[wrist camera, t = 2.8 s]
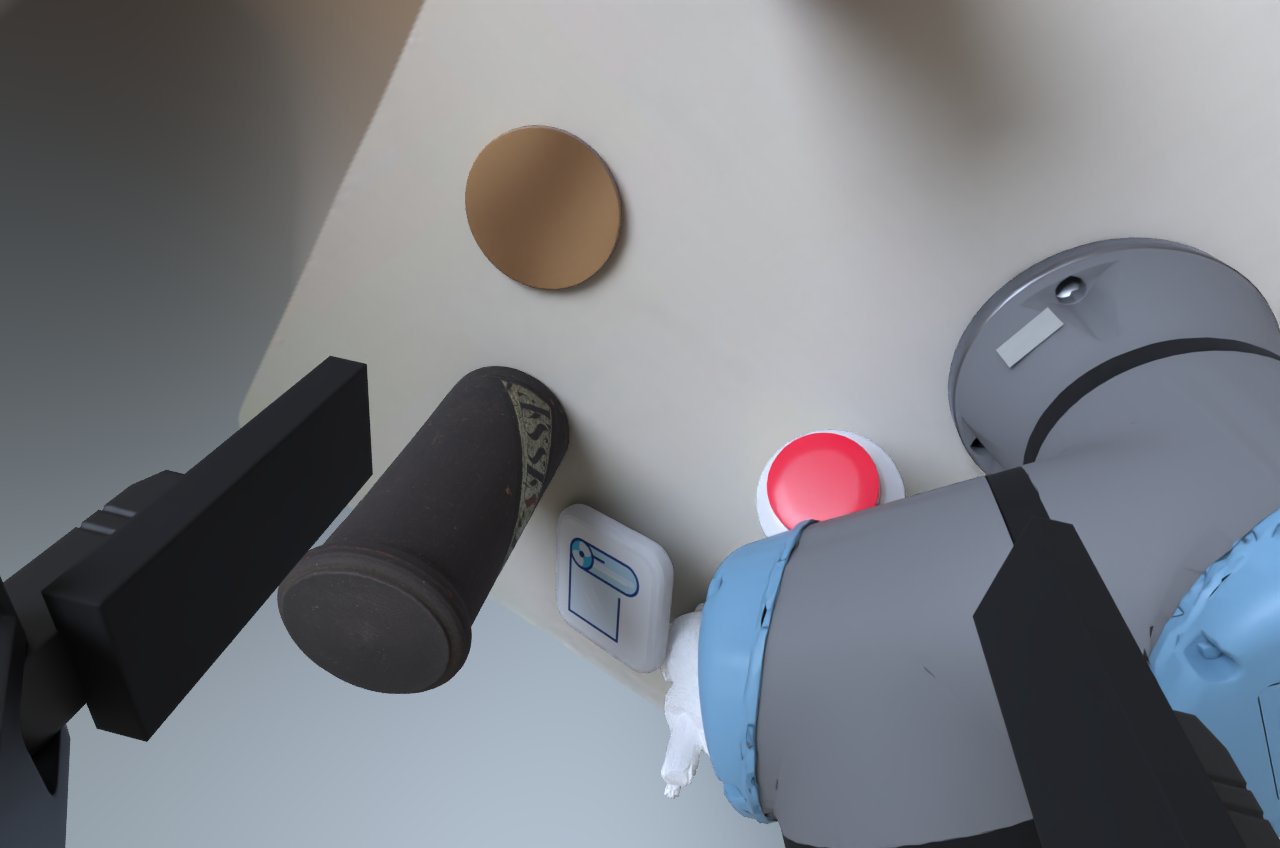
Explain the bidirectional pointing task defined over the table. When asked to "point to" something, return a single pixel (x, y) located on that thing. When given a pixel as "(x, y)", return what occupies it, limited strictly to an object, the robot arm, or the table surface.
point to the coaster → (543, 207)
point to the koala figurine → (683, 703)
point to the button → (614, 586)
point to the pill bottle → (824, 480)
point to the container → (428, 538)
